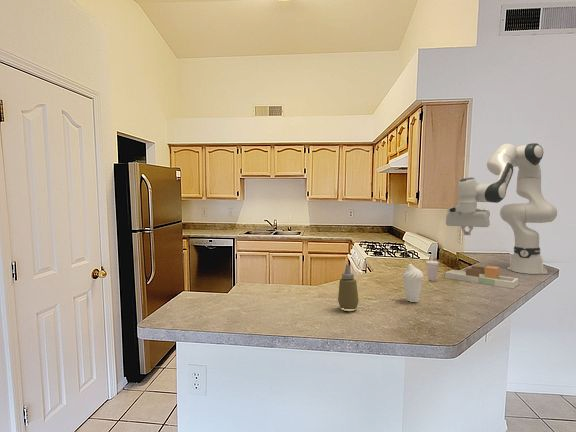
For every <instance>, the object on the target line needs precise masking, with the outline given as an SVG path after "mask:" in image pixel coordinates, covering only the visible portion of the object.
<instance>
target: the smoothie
mask: <svg viewBox="0 0 576 432" xmlns="http://www.w3.org/2000/svg"><path fill="white" fill-rule="evenodd" d="M430 254H431V260H426V261H425V264H426V270H427V271H426V272H427V279H428V281H431V282H437V276H438V272H439V271H438V270H439V264H440V261H436V260H433V253H430Z"/></svg>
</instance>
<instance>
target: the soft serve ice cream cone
mask: <svg viewBox="0 0 576 432" xmlns="http://www.w3.org/2000/svg"><path fill="white" fill-rule="evenodd" d="M401 277H402V279H403V280H402V281H403V285H404V286H403V289H404V292H405V295H406V296H405V297H406V301H407V302H408V301H410V302H409V303H411V302H417V303H419V299H420V296H421V295H420V294H421V290H422V288H421V287H422V282H423V280H422V279H423V278H424V273H423V272H422V271H421V270H420V269H419V268H418V267H417V268H416V267H415V266H414V265H413V264H412V263H409V264H408V265H407V266H406V269H405V270H404V271H403V272H402V274H401Z"/></svg>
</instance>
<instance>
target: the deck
mask: <svg viewBox="0 0 576 432" xmlns="http://www.w3.org/2000/svg"><path fill="white" fill-rule="evenodd" d="M470 267H471V268H467V267H466V268H465V270H459V269H449V270H448V271H446V272H444V278H445V279H449V280H455V281H461V282H467V283H469V282H470V283H475V284H480V283H481V285H488V286H492V287H493V286H494V287H500V288H506V289H515V288H516V287H518V286H519V281H520V280H519V278H518V277H510V276H503V275H499V278H497V279H493V278H486V277H485V267H486V266H485V267H483V266H475V265H471V266H470Z"/></svg>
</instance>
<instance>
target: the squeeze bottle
mask: <svg viewBox="0 0 576 432" xmlns="http://www.w3.org/2000/svg"><path fill="white" fill-rule="evenodd" d="M344 269H345V270H344V272H343V273H341V278H340V279H339V285H338V296H337V297H338V299H337V302H338V304H339V308H340V307H341V308H344V309H355V308H356V309H357V308H358V304H359V293H358V283H357V280H356V278H355V274H354V272H351V266H350V264H346V265H345V268H344ZM341 308H340V309H341Z"/></svg>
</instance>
